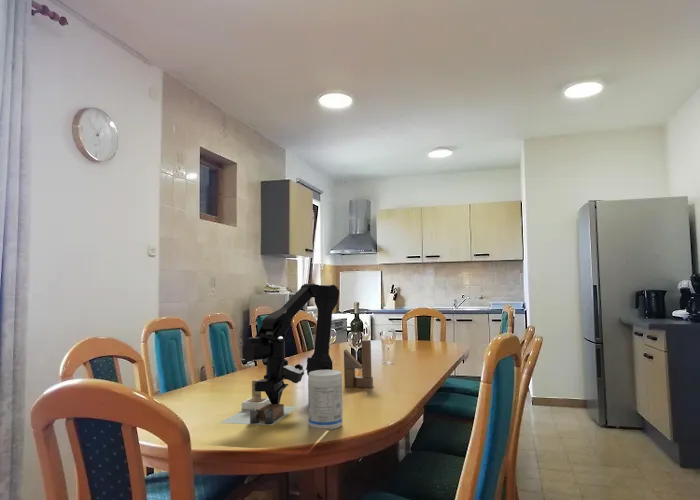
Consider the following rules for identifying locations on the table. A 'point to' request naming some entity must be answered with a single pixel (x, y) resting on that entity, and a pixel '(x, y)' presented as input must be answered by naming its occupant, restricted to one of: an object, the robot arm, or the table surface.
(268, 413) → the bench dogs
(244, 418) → the mat
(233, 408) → the table surface
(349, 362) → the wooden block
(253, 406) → the tray
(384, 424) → the table surface
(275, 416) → the cardboard brown brick
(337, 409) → the supplement tub
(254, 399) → the dowel
